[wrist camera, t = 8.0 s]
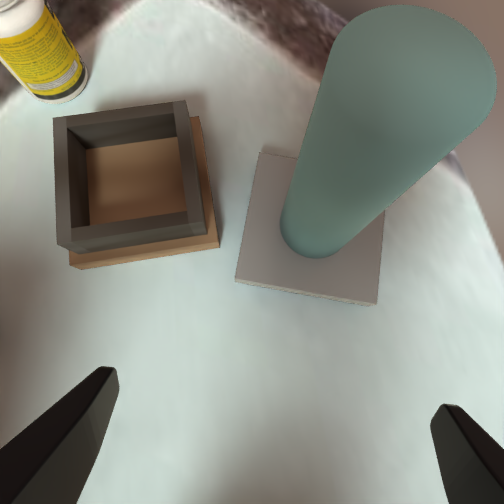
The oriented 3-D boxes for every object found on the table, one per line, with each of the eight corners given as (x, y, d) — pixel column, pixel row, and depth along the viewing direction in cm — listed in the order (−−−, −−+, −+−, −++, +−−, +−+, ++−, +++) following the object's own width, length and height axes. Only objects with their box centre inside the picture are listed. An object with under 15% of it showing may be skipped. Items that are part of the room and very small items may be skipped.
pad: (367, 306, 22) (376, 304, 20) (235, 282, 22) (234, 278, 21) (379, 184, 24) (388, 174, 23) (258, 163, 24) (259, 152, 23)
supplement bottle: (102, 74, 26) (36, -46, 18) (61, 116, 25) (-29, 11, 17) (56, 45, 26) (-29, -84, 18) (14, 85, 25) (-96, -31, 17)
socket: (219, 247, 23) (214, 229, 19) (81, 269, 22) (46, 256, 18) (201, 128, 25) (193, 91, 21) (75, 146, 24) (42, 110, 20)
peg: (323, 272, 21) (444, 179, 8) (265, 230, 21) (295, 82, 9) (362, 218, 22) (525, 60, 9) (306, 179, 22) (385, -21, 10)
